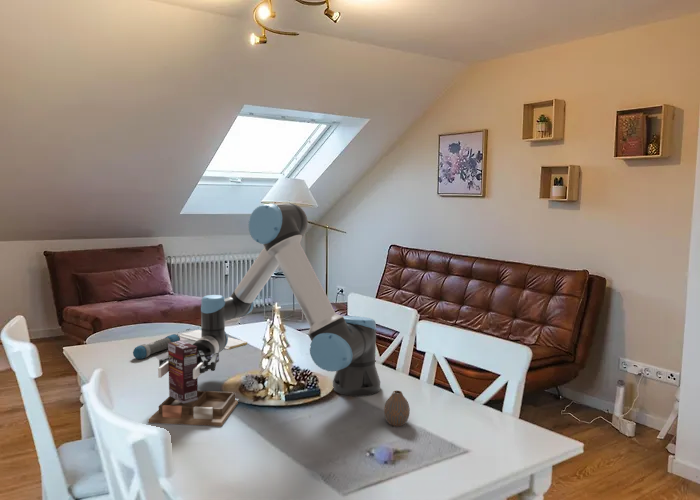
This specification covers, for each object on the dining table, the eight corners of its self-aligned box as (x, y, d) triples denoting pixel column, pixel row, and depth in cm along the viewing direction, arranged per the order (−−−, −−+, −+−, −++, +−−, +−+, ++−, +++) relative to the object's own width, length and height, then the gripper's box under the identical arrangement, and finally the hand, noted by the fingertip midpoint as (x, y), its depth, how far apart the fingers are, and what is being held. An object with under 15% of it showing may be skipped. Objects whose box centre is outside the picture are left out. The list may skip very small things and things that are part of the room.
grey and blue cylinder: (180, 346, 230) (180, 334, 230) (141, 361, 210) (140, 348, 210) (170, 345, 232) (170, 333, 232) (130, 359, 212) (130, 346, 212)
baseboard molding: (224, 352, 225) (247, 345, 235) (224, 344, 225) (247, 338, 235) (175, 338, 244) (198, 333, 254) (175, 331, 244) (198, 326, 253)
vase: (388, 429, 154) (389, 397, 153) (380, 419, 160) (381, 388, 159) (413, 426, 156) (414, 395, 155) (404, 417, 162) (404, 386, 161)
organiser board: (239, 401, 172) (239, 388, 171) (221, 426, 154) (221, 411, 154) (173, 398, 173) (173, 385, 173) (148, 422, 156) (148, 408, 155)
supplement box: (168, 396, 167) (167, 342, 165) (183, 392, 170) (182, 339, 169) (183, 404, 161) (182, 348, 159) (198, 400, 164) (198, 345, 163)
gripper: (237, 363, 182) (215, 388, 160) (169, 361, 184) (138, 385, 161) (237, 340, 181) (215, 361, 159) (169, 338, 183) (138, 358, 160)
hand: (176, 373), depth 160 cm, fingers closed on supplement box, 9 cm apart
